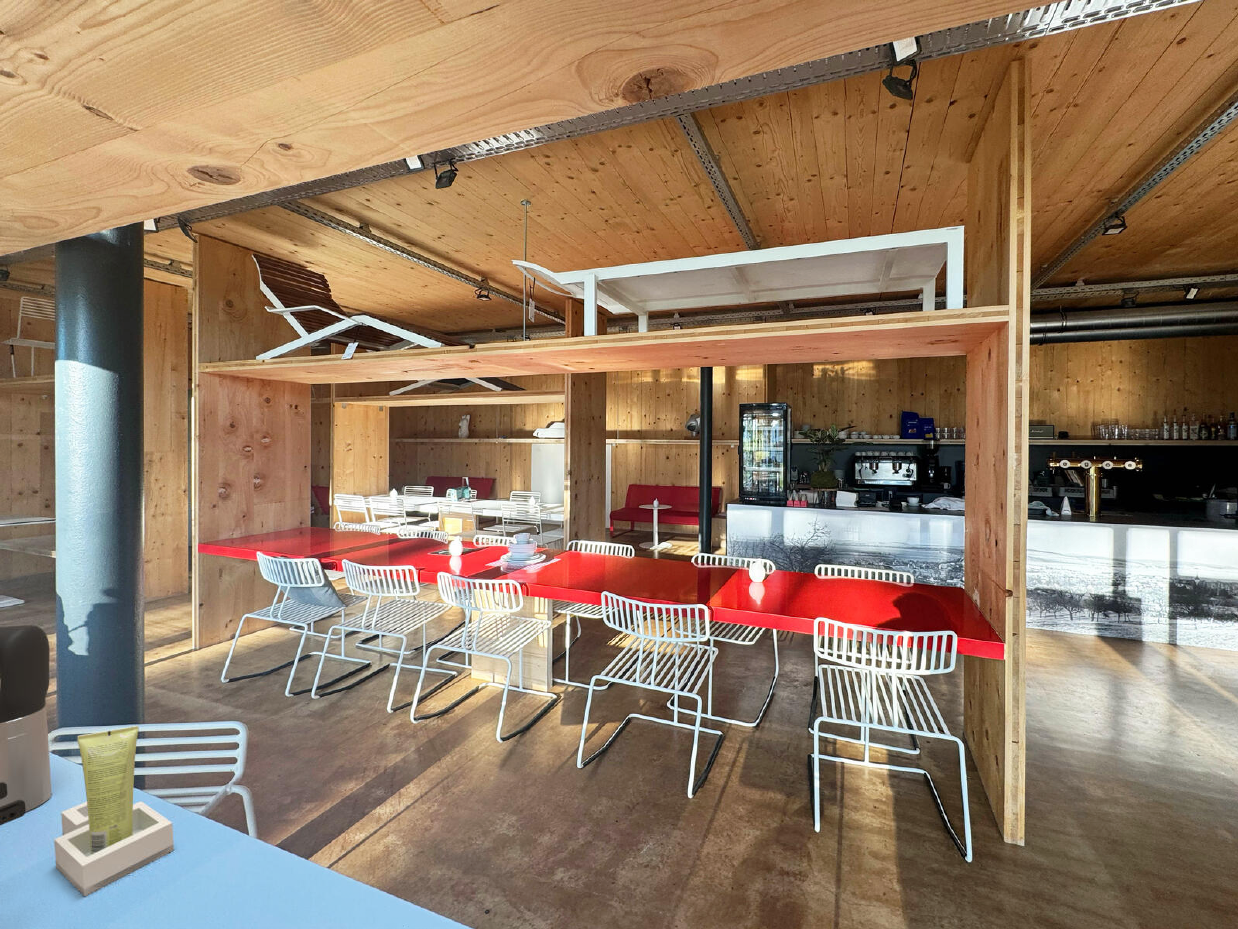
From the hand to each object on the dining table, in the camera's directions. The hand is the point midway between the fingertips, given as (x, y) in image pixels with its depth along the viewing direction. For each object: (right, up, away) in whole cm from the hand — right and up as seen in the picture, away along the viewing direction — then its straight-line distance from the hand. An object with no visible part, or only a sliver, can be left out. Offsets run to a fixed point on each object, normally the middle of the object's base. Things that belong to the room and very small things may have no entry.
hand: (15, 797), depth 83 cm
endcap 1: (-2, -15, +16) cm, 22 cm away
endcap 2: (+7, -15, +9) cm, 19 cm away
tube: (+7, -14, +9) cm, 18 cm away
